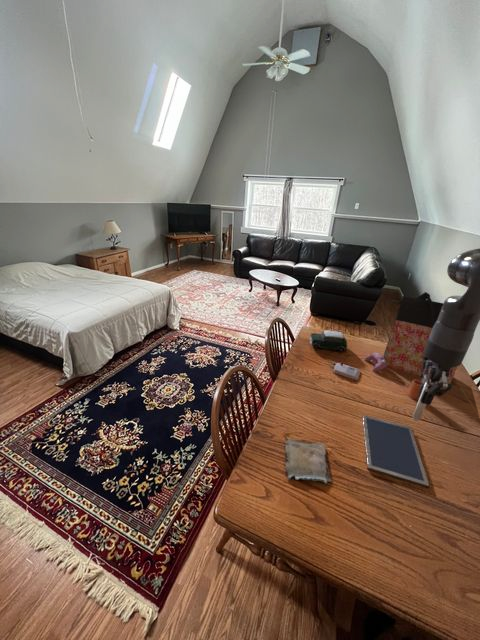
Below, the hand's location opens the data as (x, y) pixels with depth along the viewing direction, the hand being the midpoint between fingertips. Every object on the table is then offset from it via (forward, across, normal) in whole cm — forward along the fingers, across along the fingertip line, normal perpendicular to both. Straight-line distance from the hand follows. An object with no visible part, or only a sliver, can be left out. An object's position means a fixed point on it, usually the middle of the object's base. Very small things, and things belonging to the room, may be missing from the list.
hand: (423, 399), depth 69 cm
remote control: (+23, +40, +14) cm, 48 cm away
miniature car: (+23, +60, +22) cm, 68 cm away
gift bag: (+23, +55, -14) cm, 61 cm away
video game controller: (+23, +50, +1) cm, 54 cm away
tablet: (+22, +4, +2) cm, 23 cm away
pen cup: (+23, +32, -11) cm, 41 cm away
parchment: (+22, -10, +26) cm, 35 cm away
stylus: (+7, 0, 0) cm, 7 cm away
